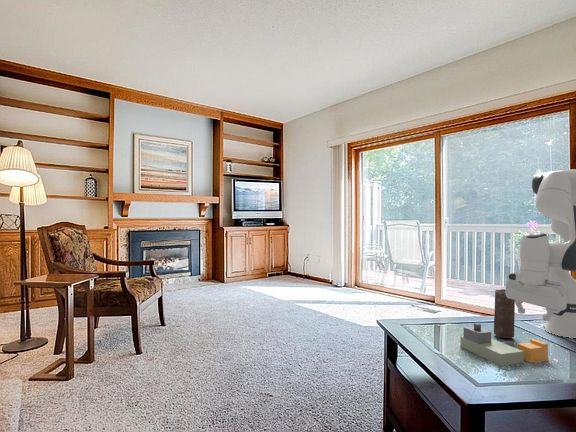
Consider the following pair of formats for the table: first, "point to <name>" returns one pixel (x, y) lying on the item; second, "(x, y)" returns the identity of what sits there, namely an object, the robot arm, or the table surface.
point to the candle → (504, 315)
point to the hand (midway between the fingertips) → (533, 316)
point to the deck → (490, 346)
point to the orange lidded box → (534, 350)
